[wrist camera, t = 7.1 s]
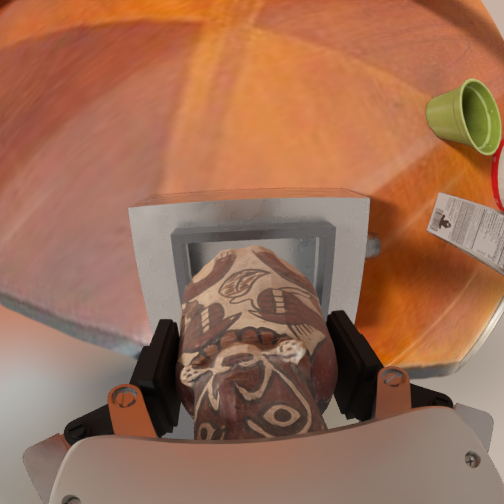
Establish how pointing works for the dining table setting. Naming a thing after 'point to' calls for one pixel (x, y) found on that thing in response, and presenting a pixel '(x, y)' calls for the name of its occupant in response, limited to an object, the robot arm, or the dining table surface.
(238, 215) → the grey box with knob
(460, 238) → the coffee box
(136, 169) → the dining table surface
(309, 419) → the figurine
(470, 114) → the plant pot
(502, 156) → the kitchen timer
